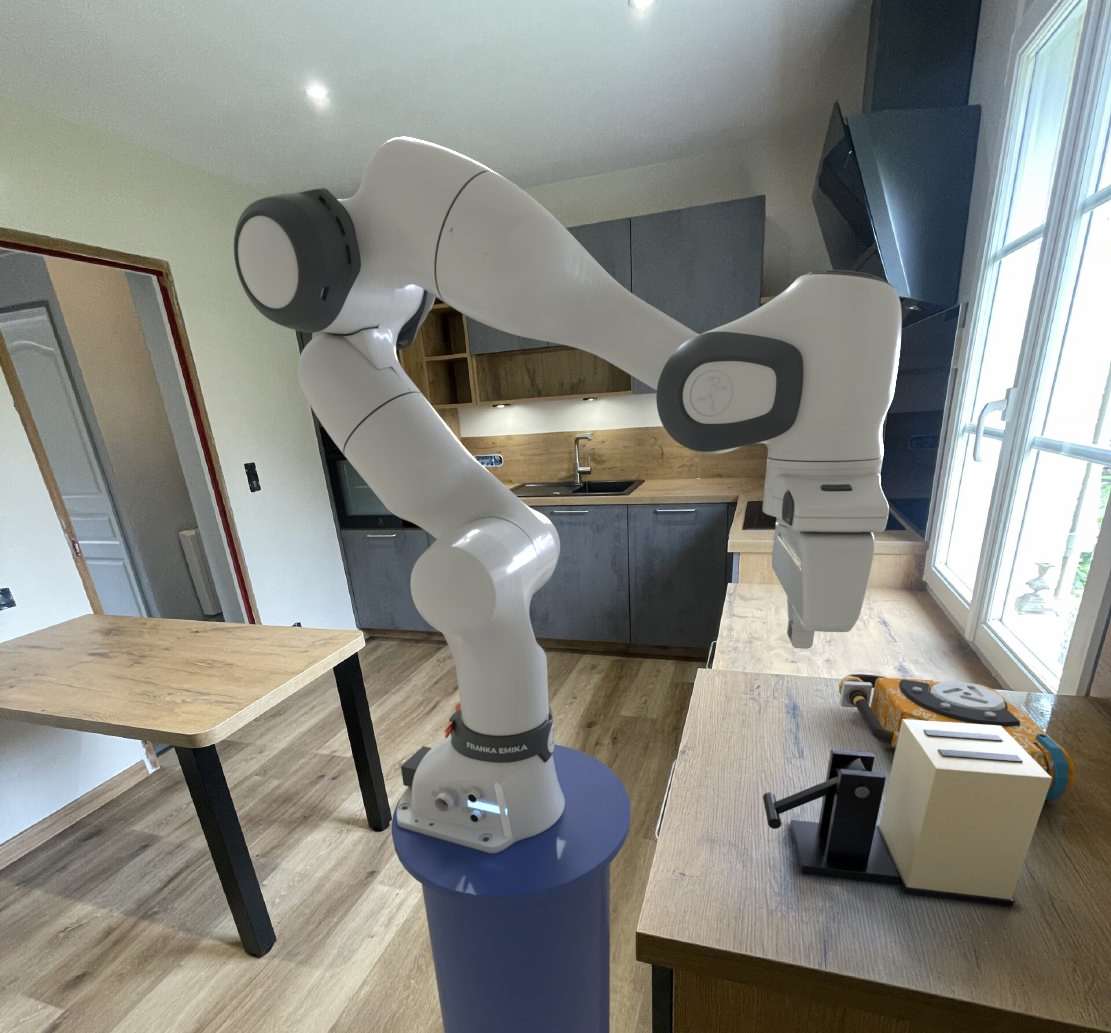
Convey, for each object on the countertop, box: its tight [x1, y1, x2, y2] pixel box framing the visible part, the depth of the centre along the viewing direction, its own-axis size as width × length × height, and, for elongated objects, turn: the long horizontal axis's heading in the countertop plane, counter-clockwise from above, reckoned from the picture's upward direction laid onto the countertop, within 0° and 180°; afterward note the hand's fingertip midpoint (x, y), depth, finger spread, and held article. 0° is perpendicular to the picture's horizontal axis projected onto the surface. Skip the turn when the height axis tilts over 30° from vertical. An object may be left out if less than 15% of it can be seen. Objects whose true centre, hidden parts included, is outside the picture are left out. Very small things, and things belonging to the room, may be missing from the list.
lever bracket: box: [789, 748, 899, 886], centre depth 66 cm, size 10×8×13 cm
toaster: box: [875, 719, 1052, 907], centre depth 64 cm, size 10×10×16 cm
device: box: [838, 673, 1076, 801], centre depth 88 cm, size 23×8×30 cm
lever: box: [762, 758, 867, 830], centre depth 66 cm, size 12×5×2 cm
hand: (798, 642), depth 54 cm, fingers closed
